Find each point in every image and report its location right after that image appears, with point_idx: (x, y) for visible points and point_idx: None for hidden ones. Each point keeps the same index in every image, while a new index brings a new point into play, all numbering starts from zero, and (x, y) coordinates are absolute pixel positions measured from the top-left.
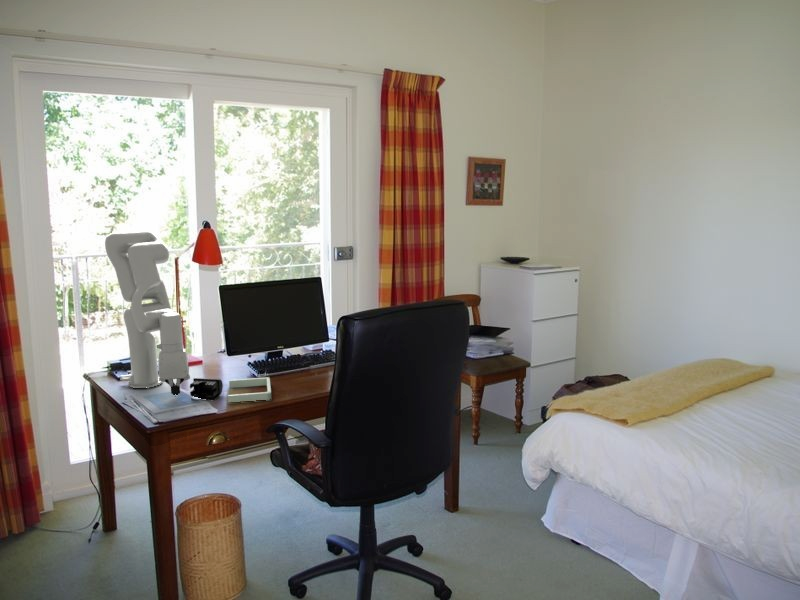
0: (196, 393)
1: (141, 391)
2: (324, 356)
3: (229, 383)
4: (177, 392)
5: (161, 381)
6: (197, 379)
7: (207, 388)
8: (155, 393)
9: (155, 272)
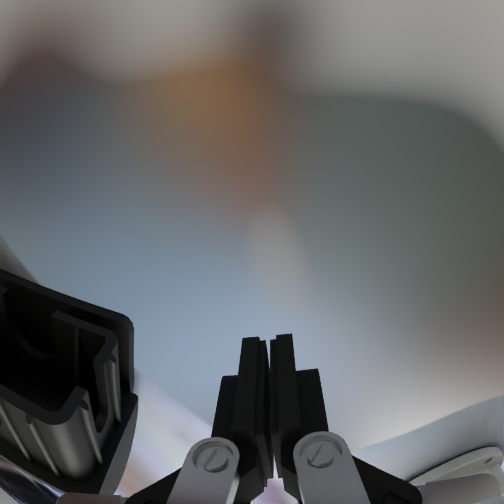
0: (78, 356)
1: (476, 434)
2: (2, 487)
3: None
4: (240, 371)
5: (464, 477)
6: (56, 480)
7: (46, 408)
8: (424, 428)
9: None
